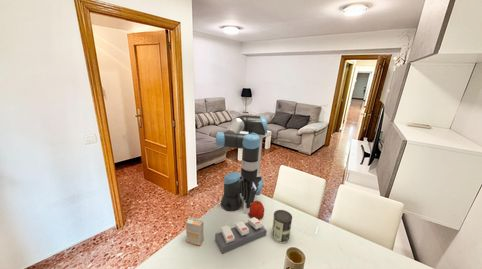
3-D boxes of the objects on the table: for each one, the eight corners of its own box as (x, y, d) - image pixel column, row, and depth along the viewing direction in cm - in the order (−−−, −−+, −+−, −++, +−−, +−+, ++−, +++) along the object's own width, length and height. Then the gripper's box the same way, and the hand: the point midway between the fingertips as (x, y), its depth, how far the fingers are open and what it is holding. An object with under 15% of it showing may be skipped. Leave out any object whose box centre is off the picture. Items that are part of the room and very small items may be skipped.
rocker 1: (220, 230, 105) (221, 227, 104) (228, 227, 107) (228, 224, 106) (226, 243, 99) (227, 240, 98) (234, 240, 101) (234, 237, 100)
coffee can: (289, 231, 115) (291, 211, 112) (289, 244, 105) (292, 223, 102) (271, 228, 117) (274, 208, 113) (271, 241, 107) (273, 219, 104)
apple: (257, 209, 134) (258, 195, 131) (267, 217, 126) (268, 203, 123) (245, 213, 129) (246, 200, 126) (254, 223, 120) (255, 208, 118)
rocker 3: (248, 223, 114) (248, 219, 114) (254, 221, 116) (254, 216, 116) (255, 229, 107) (255, 224, 107) (262, 226, 109) (262, 222, 109)
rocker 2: (235, 227, 110) (235, 223, 109) (241, 224, 112) (241, 220, 111) (242, 235, 103) (242, 231, 102) (248, 232, 105) (249, 228, 104)
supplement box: (204, 239, 106) (204, 219, 102) (200, 246, 101) (199, 225, 98) (190, 236, 108) (190, 216, 104) (186, 242, 103) (185, 222, 100)
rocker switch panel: (215, 239, 106) (215, 232, 105) (256, 224, 120) (257, 217, 118) (222, 254, 98) (222, 246, 96) (266, 235, 111) (267, 228, 110)
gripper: (235, 164, 92) (233, 206, 98) (249, 175, 81) (246, 222, 87) (249, 161, 95) (246, 203, 101) (264, 172, 85) (260, 218, 90)
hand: (246, 212), depth 94 cm, fingers closed
